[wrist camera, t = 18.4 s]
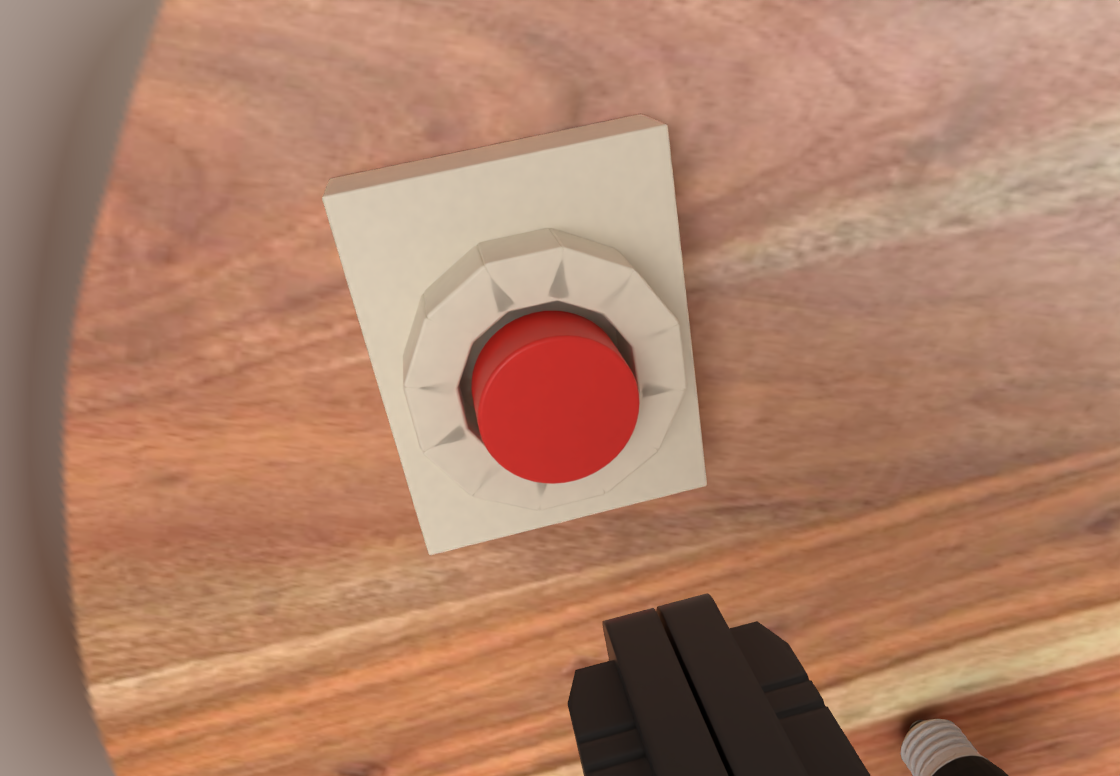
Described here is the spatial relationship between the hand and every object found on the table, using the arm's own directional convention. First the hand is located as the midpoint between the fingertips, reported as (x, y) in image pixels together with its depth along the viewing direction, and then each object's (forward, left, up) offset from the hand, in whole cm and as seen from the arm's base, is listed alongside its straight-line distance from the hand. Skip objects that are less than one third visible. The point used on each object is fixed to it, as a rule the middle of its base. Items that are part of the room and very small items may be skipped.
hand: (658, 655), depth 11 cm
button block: (0, 0, -13) cm, 13 cm away
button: (0, 0, -9) cm, 9 cm away
